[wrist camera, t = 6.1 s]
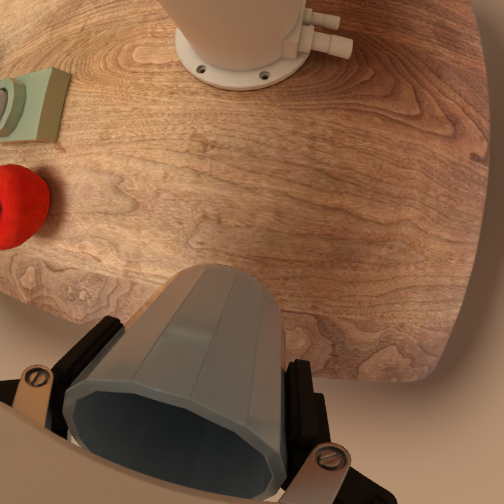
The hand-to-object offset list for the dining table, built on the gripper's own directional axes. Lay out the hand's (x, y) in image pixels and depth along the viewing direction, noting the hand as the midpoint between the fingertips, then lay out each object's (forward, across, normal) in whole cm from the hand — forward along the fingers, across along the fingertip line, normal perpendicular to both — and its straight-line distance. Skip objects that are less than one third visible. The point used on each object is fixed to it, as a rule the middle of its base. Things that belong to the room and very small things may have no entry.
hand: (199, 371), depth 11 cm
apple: (+16, +25, -2) cm, 29 cm away
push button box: (+16, +29, -13) cm, 35 cm away
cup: (+4, 0, 0) cm, 4 cm away
